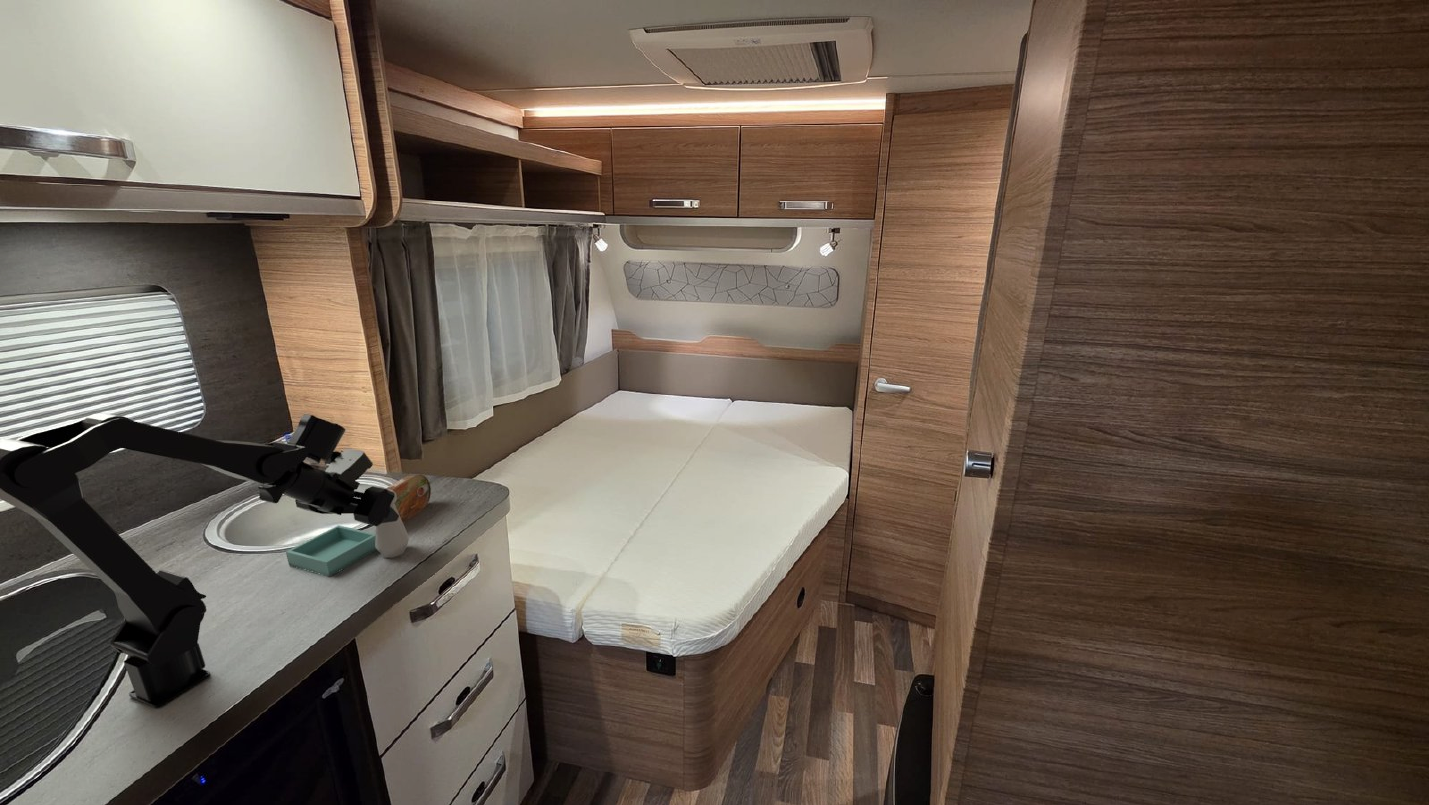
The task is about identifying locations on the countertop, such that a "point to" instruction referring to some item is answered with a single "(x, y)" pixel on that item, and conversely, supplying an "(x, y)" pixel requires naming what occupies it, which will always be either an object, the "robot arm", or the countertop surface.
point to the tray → (332, 550)
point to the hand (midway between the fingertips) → (379, 514)
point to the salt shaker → (391, 536)
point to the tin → (411, 495)
